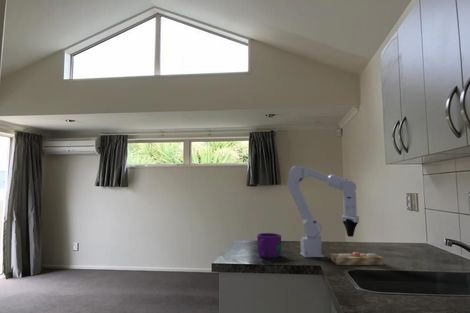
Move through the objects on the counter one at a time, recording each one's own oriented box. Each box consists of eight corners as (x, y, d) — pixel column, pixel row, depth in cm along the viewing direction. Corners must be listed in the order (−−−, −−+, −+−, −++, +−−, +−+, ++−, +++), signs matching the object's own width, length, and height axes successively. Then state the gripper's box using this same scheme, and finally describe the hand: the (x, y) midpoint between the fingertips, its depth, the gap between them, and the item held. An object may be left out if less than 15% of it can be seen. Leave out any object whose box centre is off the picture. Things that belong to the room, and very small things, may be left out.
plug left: (340, 262, 144) (339, 255, 144) (337, 261, 147) (337, 253, 147) (347, 262, 144) (347, 255, 144) (344, 261, 147) (344, 253, 148)
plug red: (354, 261, 144) (354, 253, 145) (351, 259, 148) (351, 252, 148) (361, 261, 145) (361, 253, 145) (358, 259, 148) (358, 252, 148)
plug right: (368, 262, 145) (368, 255, 145) (365, 260, 148) (365, 253, 148) (376, 262, 145) (375, 255, 145) (372, 260, 148) (372, 253, 149)
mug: (263, 252, 166) (263, 232, 166) (284, 255, 160) (284, 234, 161) (247, 259, 150) (247, 237, 151) (271, 262, 145) (271, 239, 146)
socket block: (337, 265, 141) (337, 257, 142) (331, 260, 149) (331, 253, 150) (383, 264, 143) (382, 257, 143) (374, 260, 151) (373, 253, 151)
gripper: (365, 207, 147) (366, 239, 146) (351, 205, 161) (352, 233, 160) (349, 207, 146) (350, 239, 145) (337, 205, 161) (337, 233, 160)
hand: (350, 236), depth 153 cm, fingers closed
